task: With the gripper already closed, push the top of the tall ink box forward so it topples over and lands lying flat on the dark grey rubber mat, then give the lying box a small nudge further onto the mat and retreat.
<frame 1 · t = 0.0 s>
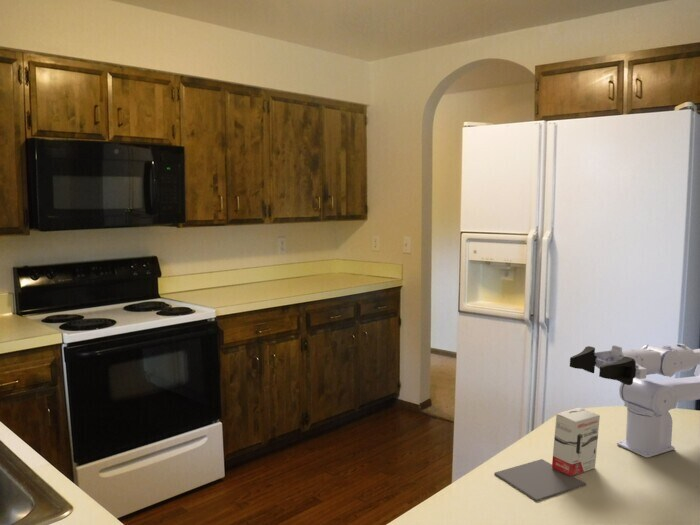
hand: (585, 367, 122), 22 cm above the countertop, tool horizontal, fingers open, 7 cm apart
ink box: (573, 469, 123), on the countertop, touching mat
mat: (539, 479, 119), on the countertop
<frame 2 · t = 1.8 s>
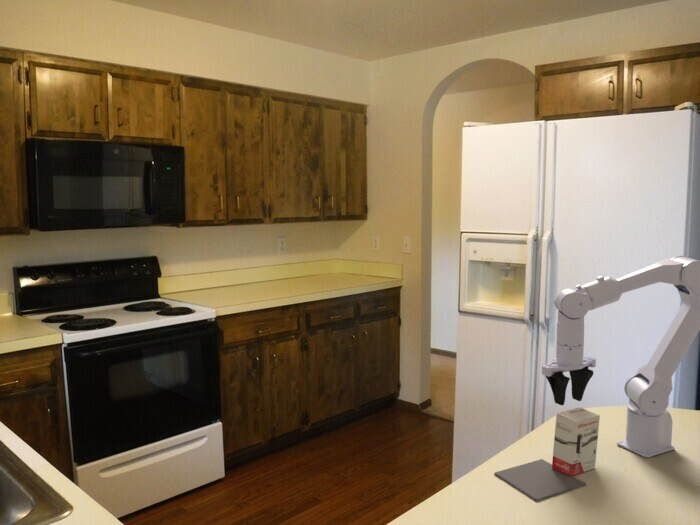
hand: (568, 401, 133), 10 cm above the countertop, tool pointing down, fingers open, 5 cm apart
nothing on the countertop moved.
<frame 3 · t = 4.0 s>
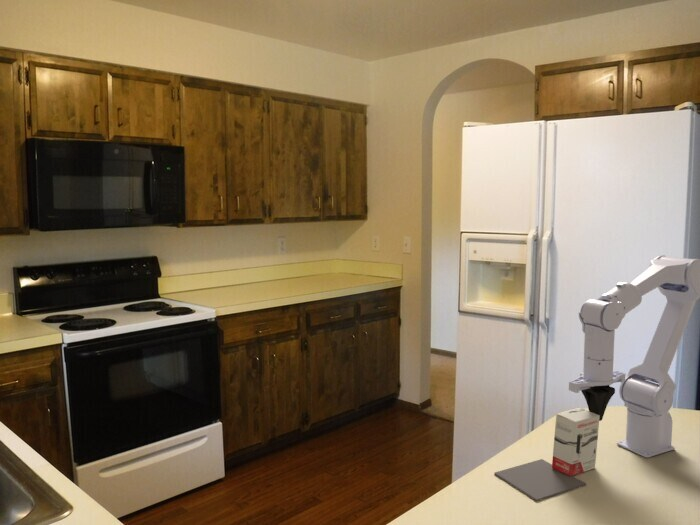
hand: (596, 419, 125), 10 cm above the countertop, tool pointing down, fingers closed, pressing on ink box
ink box: (573, 469, 123), on the countertop, touching gripper, mat
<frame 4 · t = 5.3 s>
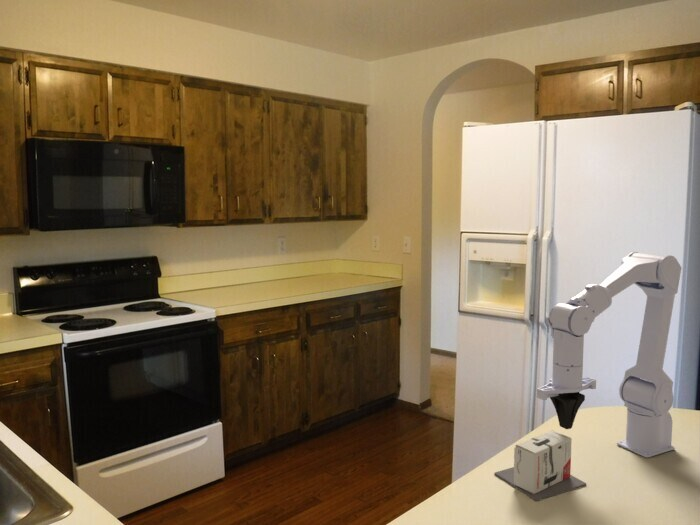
hand: (565, 427, 121), 10 cm above the countertop, tool pointing down, fingers closed
ink box: (562, 453, 121), point 5 cm above the countertop, touching mat
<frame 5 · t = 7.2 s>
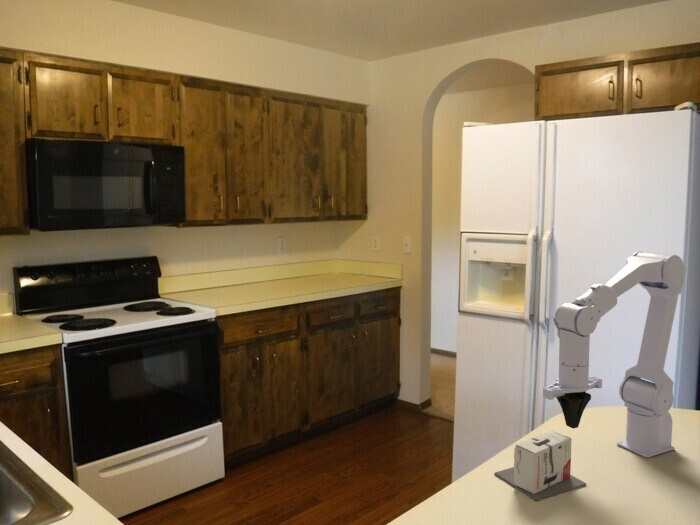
hand: (572, 426, 122), 10 cm above the countertop, tool pointing down, fingers closed
nothing on the countertop moved.
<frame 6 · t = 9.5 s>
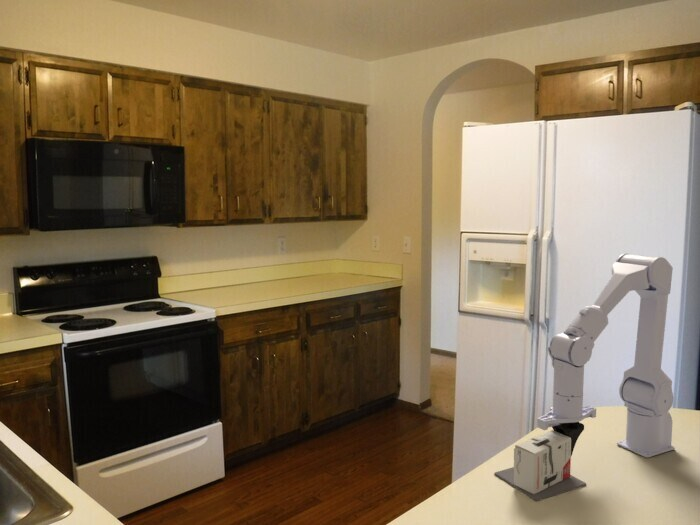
hand: (566, 455, 122), 3 cm above the countertop, tool pointing down, fingers closed
ink box: (561, 452, 121), point 5 cm above the countertop, touching gripper, mat
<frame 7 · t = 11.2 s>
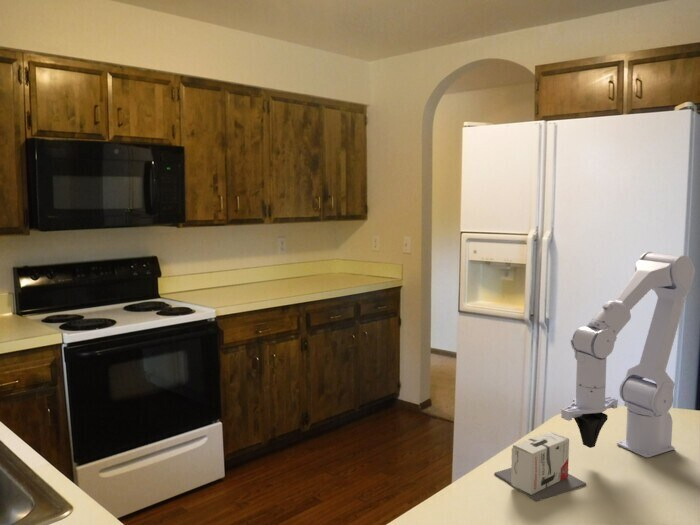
hand: (588, 445, 125), 4 cm above the countertop, tool pointing down, fingers closed
ink box: (559, 453, 120), point 5 cm above the countertop, touching mat
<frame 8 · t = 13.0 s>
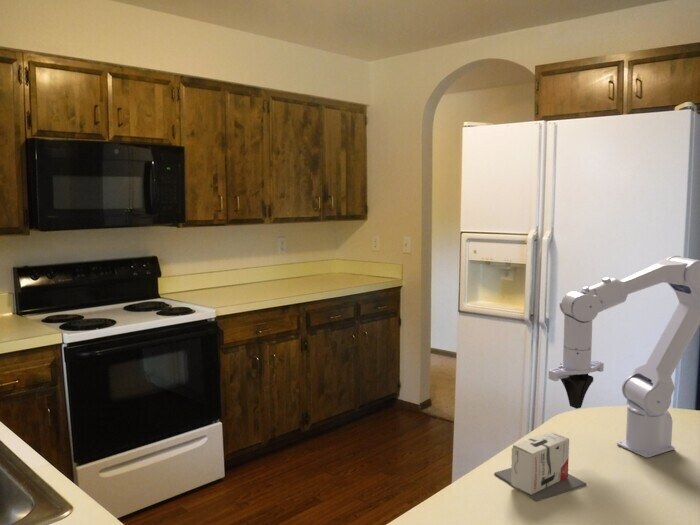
hand: (575, 406, 130), 10 cm above the countertop, tool pointing down, fingers closed
nothing on the countertop moved.
at the end: ink box tilted 90°; ink box inside the target area (4.4 cm from its centre), point 4.7 cm above the countertop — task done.
